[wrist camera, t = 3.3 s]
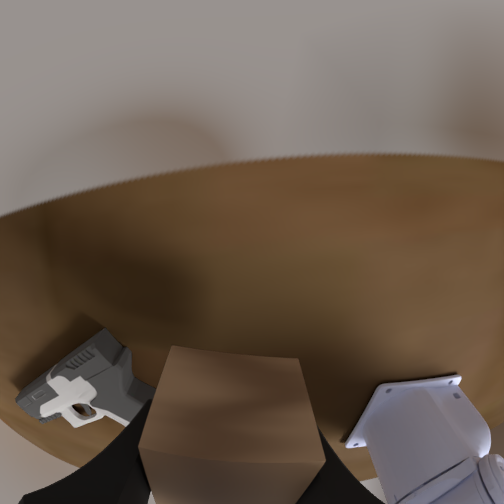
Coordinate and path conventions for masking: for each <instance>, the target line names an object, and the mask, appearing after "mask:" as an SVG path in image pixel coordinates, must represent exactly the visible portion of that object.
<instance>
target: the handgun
mask: <svg viewBox="0 0 504 504" xmlns="http://www.w3.org/2000/svg"><path fill="white" fill-rule="evenodd" d="M131 365H132V353H131V351H130V350H129V349H128V347H124V348H123V347H122V346H121V345H120V344H119V342H118V341H117V340H116V339H115V338H114V337H113V336H112V335H111V334H110V332H109V331H108V330H107V329H106V328H104V329H103V330H101V331H100V332H98V333H97V334H96V335H94V336H93V337H91V338H90V339H89V340H87V341H86V342H85V343H83V344H82V345H80V346H79V347H78V348H76V349H75V350H74V351H72V352H71V353H70V354H68V355H67V356H65V357H64V358H63V359H61V360H60V361H59V362H58V364H56V365H54V366H53V367H51V368H50V369H49V370H47V371H46V372H45V373H43V374H42V375H41V376H39V377H38V378H37V379H35V380H34V381H33V382H31V383H30V384H29V385H27V386H26V387H25V388H23V389H22V391H21V392H20V393H19V394H18V396H17V397H16V398H15V399H16V403H17V404H18V405H19V406H20V407H21V408H22V409H23V410H24V411H25V412H26V413H27V414H29V415H30V416H31V417H34V418H36V419H39V422H40V423H42V424H44V423H46V422H47V421H48V422H49V421H50V420H53V419H56V418H57V417H58V418H59V417H61V415H62V416H63V417H64V418H65V419H66V420H68V421H69V422H70V423H71V425H72V426H74V427H75V428H76V427H79V426H82V425H84V424H87V423H90V422H92V421H95V420H98V419H101V418H103V416H104V415H106V416H108V417H110V418H112V419H114V420H116V421H117V422H119V423H121V424H122V425H124V426H125V427H126V426H127V425H128V424H129V423H130V422H131V421H132V419H133V418H134V417H135V416H136V414H137V413H138V412H139V411H140V409H141V408H142V406H143V405H144V404H145V402H146V401H147V400H148V399H152V400H153V398H154V395H155V392H156V389H155V388H153V387H151V386H150V385H148V384H146V383H144V382H142V381H140V380H139V379H137V378H135V377H134V375H133V373H132V368H131ZM77 403H80V404H81V405H82V407H83V408H84V409H85V411H86V413H87V414H89V415H90V416H88V417H87V416H83V415H81V414H79V413H78V412H76V411H75V410H74V409H73V407H72V405H73V404H77ZM89 406H90V407H92V408H93V409H95V410H96V412H97V413H95V414H93V415H91V414H92V413H91V410H90V407H89Z"/></svg>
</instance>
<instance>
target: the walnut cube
mask: <svg viewBox="0 0 504 504" xmlns="http://www.w3.org/2000/svg"><path fill="white" fill-rule="evenodd" d="M138 448H139V452H140V456H141V459H142V463H143V466H144V469H145V473H146V476H147V479H148V482H149V485H150V488H151V491H152V494H153V497H154V499H155V502H156V504H295V503H296V502H297V501H298V499H299V498H300V497H301V496H302V494H303V493H304V492H305V490H306V489H307V487H308V486H309V485H310V483H311V482H312V481H313V479H314V478H315V476H316V475H317V473H318V472H319V470H320V469H321V467H322V466H323V465H324V463H325V461H326V459H325V455H324V451H323V447H322V444H321V440H320V436H319V432H318V429H317V425H316V421H315V417H314V414H313V410H312V406H311V403H310V399H309V395H308V392H307V388H306V385H305V381H304V377H303V374H302V370H301V367H300V363H299V359H297V358H280V357H266V356H254V355H243V354H234V353H225V352H216V351H208V350H201V349H194V348H187V347H181V346H174V345H172V346H171V349H170V352H169V354H168V357H167V360H166V363H165V366H164V369H163V372H162V375H161V377H160V380H159V383H158V386H157V389H156V392H155V395H154V398H153V401H152V404H151V407H150V410H149V414H148V417H147V420H146V423H145V426H144V429H143V432H142V436H141V439H140V442H139V445H138Z"/></svg>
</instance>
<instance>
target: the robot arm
mask: <svg viewBox="0 0 504 504" xmlns="http://www.w3.org/2000/svg"><path fill="white" fill-rule="evenodd" d="M460 381H461V376H460V375H452V376H446V377H440V378H433V379H425V380H417V381H408V382H398V383H385V384H381V385H379V386H378V387H377V388H376V390H375V392H374V394H373V396H372V398H371V400H370V402H369V403H368V405H367V407H366V409H365V411H364V412H363V414H362V416H361V418H360V419H359V421H358V423H357V425H356V426H355V428H354V430H353V431H352V433H351V434H350V436H349V438H348V439H347V441H346V442H345V446H346V448H353V447H361V446H367V448H368V451H369V453H370V456H371V459H372V461H373V464H374V467H375V470H376V472H377V475H378V478H379V480H380V483H381V486H382V489H383V491H384V494H385V497H386V500H387V503H388V504H504V459H503V458H502V457H501V456H500V455H498V454H492V455H491V454H488V452H489V449H490V445H491V435H490V430H489V427H488V425H487V423H486V422H485V420H484V419H483V417H482V416H481V415H480V413H479V412H478V411H477V409H476V408H475V407H474V406H473V404H472V403H471V402H470V400H469V399H468V398H467V397H466V395H465V394H464V393H463V391H462V390H461V389H460V388H459V386H458V384H459V382H460ZM152 401H153V400H152V399H148V400H147V401H146V402H145V404H144V405H143V406H142V408H141V409H140V411H139V412H138V413H137V414H136V416H135V417H134V418H133V419H132V421H131V422H130V423H129V424H128V425H127V426H126V427H125V429H124V430H123V431H122V432H121V433H120V434H119V435H118V436H117V437H116V438H115V439H114V440H113V441H112V442H111V443H110V444H109V445H108V446H107V447H106V448H105V449H104V450H103V451H102V452H100V453H99V454H98V455H97V456H96V457H95V458H93V459H92V460H91V461H89V462H88V463H87V464H85V465H84V466H82V467H81V468H80V469H78V470H77V471H75V472H74V473H72V474H71V475H69V476H67V477H65V478H64V479H61V480H59V481H57V482H55V483H53V484H51V485H49V486H47V487H45V488H42V489H39V490H37V491H34V492H31V493H28V494H25V495H24V496H23V497H22V499H21V500H20V501H19V503H18V504H148V499H149V495H150V492H151V488H150V485H149V482H148V479H147V476H146V473H145V469H144V466H143V463H142V459H141V456H140V452H139V448H138V445H139V442H140V439H141V436H142V432H143V429H144V426H145V423H146V420H147V417H148V414H149V410H150V407H151V404H152ZM316 425H317V424H316ZM317 429H318V432H319V436H320V440H321V444H322V447H323V451H324V455H325V459H326V461H325V463H324V465H323V466H322V467H321V469H320V470H319V472H318V473H317V475H316V476H315V478H314V479H313V481H312V482H311V483H310V485H309V486H308V487H307V489H306V490H305V492H304V493H303V494H302V496H301V497H300V498H299V499H298V501H297V502H296V503H295V504H385V503H383V502H382V501H381V500H379V499H378V498H377V497H375V496H374V495H373V494H372V493H371V492H370V491H369V490H367V489H366V488H365V487H364V486H363V485H362V484H361V483H360V482H359V481H358V480H357V479H356V478H355V477H354V476H353V474H352V473H351V472H350V471H349V470H348V469H347V467H346V466H345V465H344V464H343V463H342V461H341V460H340V459H339V457H338V456H337V455H336V453H335V452H334V450H333V449H332V448H331V446H330V445H329V443H328V442H327V440H326V439H325V437H324V436H323V434H322V432H321V431H320V429H319V428H318V426H317Z"/></svg>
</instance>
